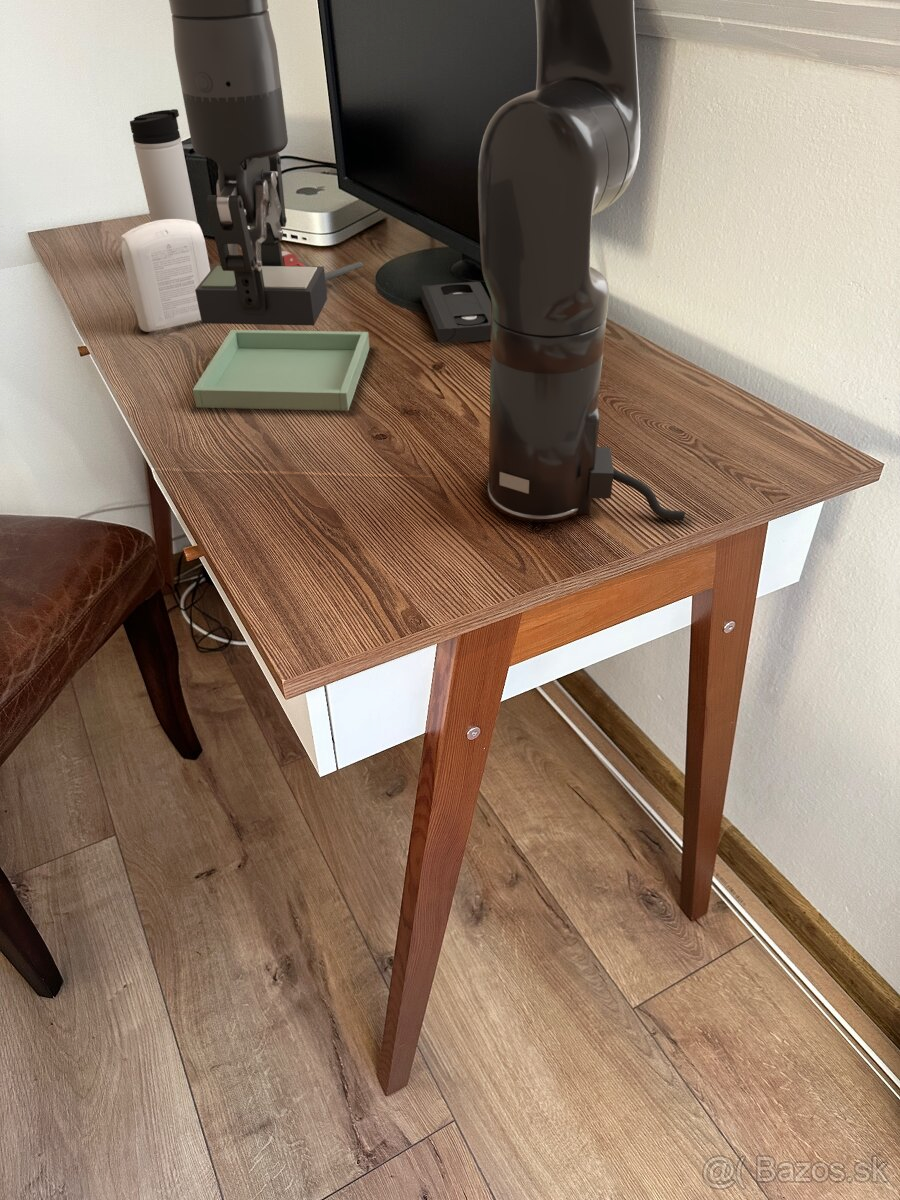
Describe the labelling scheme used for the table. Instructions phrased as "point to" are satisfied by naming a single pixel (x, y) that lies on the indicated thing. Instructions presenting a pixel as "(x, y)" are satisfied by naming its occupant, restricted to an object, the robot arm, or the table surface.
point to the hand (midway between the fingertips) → (264, 297)
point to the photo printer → (165, 271)
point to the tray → (284, 370)
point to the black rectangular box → (287, 291)
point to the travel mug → (163, 165)
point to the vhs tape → (458, 311)
